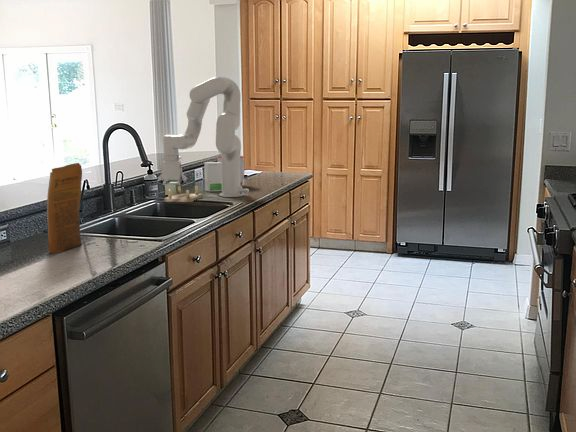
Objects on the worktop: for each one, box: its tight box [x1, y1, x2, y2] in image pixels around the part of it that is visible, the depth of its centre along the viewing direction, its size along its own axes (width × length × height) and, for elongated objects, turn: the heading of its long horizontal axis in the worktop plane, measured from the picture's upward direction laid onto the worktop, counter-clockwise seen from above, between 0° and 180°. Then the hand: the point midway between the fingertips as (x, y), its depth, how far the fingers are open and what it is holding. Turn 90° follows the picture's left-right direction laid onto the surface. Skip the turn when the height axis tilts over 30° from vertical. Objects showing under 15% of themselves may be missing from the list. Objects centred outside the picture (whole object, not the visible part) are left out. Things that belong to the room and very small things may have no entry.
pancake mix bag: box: [46, 162, 83, 254], centre depth 206 cm, size 7×19×28 cm, turn 162°
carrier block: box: [164, 181, 178, 196], centre depth 326 cm, size 5×10×6 cm, turn 173°
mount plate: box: [163, 185, 203, 203], centre depth 310 cm, size 14×17×6 cm
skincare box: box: [204, 161, 222, 193], centre depth 337 cm, size 8×7×16 cm
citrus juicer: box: [216, 155, 245, 186], centre depth 355 cm, size 16×17×20 cm
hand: (172, 192), depth 327 cm, fingers open, 6 cm apart
